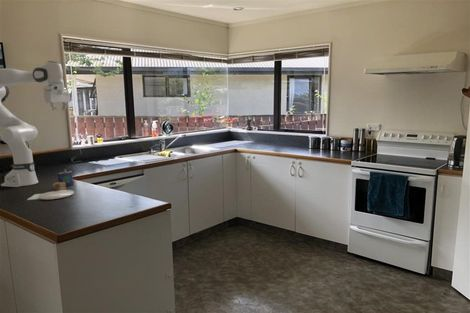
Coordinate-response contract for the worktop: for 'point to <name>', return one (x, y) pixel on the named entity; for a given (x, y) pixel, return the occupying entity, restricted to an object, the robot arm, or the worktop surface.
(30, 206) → the worktop surface
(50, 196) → the plate
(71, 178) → the flask
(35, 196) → the napkin
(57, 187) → the block
